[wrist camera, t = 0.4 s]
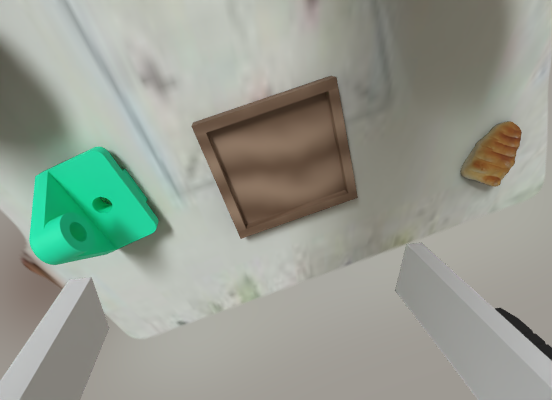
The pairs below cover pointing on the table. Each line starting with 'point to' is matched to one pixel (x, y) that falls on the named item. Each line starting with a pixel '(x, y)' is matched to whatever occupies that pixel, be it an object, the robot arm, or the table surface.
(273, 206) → the tray
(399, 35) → the table surface
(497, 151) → the pastry
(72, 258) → the camera mount
